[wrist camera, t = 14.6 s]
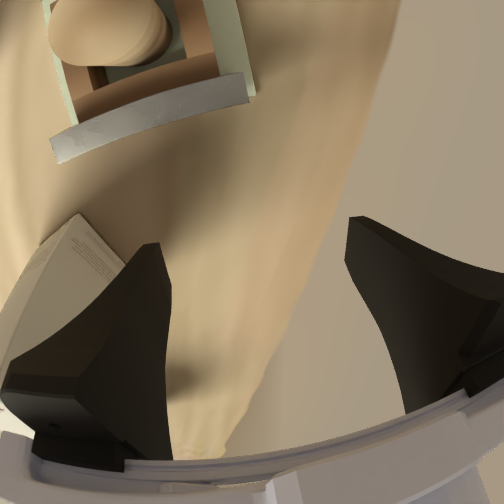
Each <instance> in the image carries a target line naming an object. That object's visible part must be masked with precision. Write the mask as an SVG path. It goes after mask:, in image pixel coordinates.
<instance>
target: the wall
mask: <svg viewBox="0 0 504 504" xmlns="http://www.w3.org/2000/svg"><path fill="white" fill-rule="evenodd" d="M245 103H250V102H249V97H248V92H247V88H246V83H245V78H244V74H243V72H235V73H229V74H225V75H220V76H219V77H215V78H211V79H206V80H202V81H198V82H195V83H191V84H187V85H184V86H180V87H176V88H173V89H170V90H166V91H163V92H160V93H157V94H154V95H151V96H148V97H145V98H142V99H139V100H136V101H133V102H131V103H128V104H125V105H122V106H120V107H117V108H115V109H112V110H110V111H107V112H105V113H102V114H100V115H97V116H95V117H93V118H90V119H88V120H86V121H84V122H81V123H78V124H76V125H74V126H72V127H70V128H68V129H66V130H64V131H63V132H61V133H59V134H57V135H55V136H53V137H52V138H50V139H49V140H50V143H51V146H52V149H53V151H54V154H55V157H56V159H57V162H58V164H61V163H63V162H65V161H68V160H70V159H72V158H74V157H77V156H79V155H81V154H84V153H86V152H88V151H91V150H93V149H96V148H98V147H100V146H103V145H106V144H108V143H111V142H113V141H116V140H119V139H121V138H124V137H127V136H130V135H133V134H135V133H138V132H141V131H144V130H147V129H150V128H153V127H156V126H160V125H163V124H166V123H169V122H173V121H176V120H180V119H183V118H187V117H190V116H194V115H198V114H202V113H206V112H209V111H214V110H218V109H222V108H226V107H231V106H235V105H240V104H245Z"/></svg>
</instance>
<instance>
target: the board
mask: <svg viewBox="0 0 504 504" xmlns="http://www.w3.org/2000/svg"><path fill="white" fill-rule="evenodd" d="M54 1H56V0H42V5H43V11H44V17H45V23H46V28H47V34H48V23H49V19H50V16H51V10H50V4H51V3H53V2H54ZM154 1H155V3H156V4H157V5H158V6H159V8H160V9H161V10H162V11H163V13H164V14H165V15H166V17H167V18H168V19H169V21H170V23H171V26H172V31H173V35H172V40H171V43H170V45H169V47H168V49H167V50H166V52H165V53H164V54H163V55H162V56H161V57H160V58H159V59H157V60H156V61H154V62H152V63H150V64H148V65H145V66H140V67H128V66H104V67H105V71H106V75H107V78H108V82H109V84H112V83H114V82H117V81H119V80H122V79H125V78H127V77H130V76H133V75H135V74H138V73H141V72H144V71H147V70H150V69H153V68H156V67H159V66H162V65H166V64H169V63H172V62H176V61H179V60H183V59H187V55H186V51H185V47H184V43H183V39H182V35H181V30H180V26H179V22H178V18H177V14H176V9H175V5H174V1H173V0H154ZM203 4H204V8H205V12H206V17H207V21H208V25H209V29H210V34H211V38H212V42H213V46H214V51H215V55H216V59H217V64H218V68H219V72H220V75H225V74H229V73H235V72H243V74H244V78H245V83H246V88H247V92H248V97H250V96H255V95H256V90H255V86H254V81H253V76H252V71H251V66H250V62H249V57H248V53H247V48H246V43H245V39H244V34H243V30H242V26H241V21H240V17H239V13H238V8H237V4H236V0H203ZM50 48H51V47H50ZM51 52H52V57H53V61H54V65H55V69H56V73H57V77H58V81H59V84H60V88H61V92H62V95H63V98H64V102H65V105H66V108H67V112H68V115H69V118H70V121H71V124H72V126H74V125H76V124H78V123H79V122H78V119H77V116H76V113H75V110H74V107H73V103H72V100H71V97H70V93H69V90H68V86H67V82H66V79H65V75H64V71H63V67H62V63H61V59H59V58H58V57H57V56H56V55H55V53H54V52H53V51H52V49H51Z"/></svg>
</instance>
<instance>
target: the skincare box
mask: <svg viewBox="0 0 504 504" xmlns="http://www.w3.org/2000/svg"><path fill="white" fill-rule="evenodd" d="M124 266H125V264H124V263H123V261H122V260H121V259H120V258H119V257H118V256H117V255H116V254H115V253H114V252H113V251H112V250H111V248H110V247H109V246H108V245H107V244H106V243H105V242H104V241H103V240H102V238H101V237H100V236H99V235H98V234H97V233H96V232H95V231H94V229H93V228H92V227H91V226H90V225H89V224H88V223H87V221H86V220H85V219H84V218H83V217H82V216H81V214H76V215H75V216H74V217H72V218H71V219H70V220H69V221H67V222H66V223H65V224H64V225H63V226H61V227H60V228H59V229H58V230H57V231H56V232H55V233H54V234H52V235H51V236H50V237H49V238H48V239H47V240H46V241H45V242H44V243H43V244H42V245H41V246H40V247H38V248H37V249H36V251H35V252H34V254H33V256H32V257H31V259H30V260H29V262H28V264H27V265H26V267H25V269H24V270H23V272H22V274H21V276H20V277H19V279H18V281H17V283H16V284H15V286H14V288H13V290H12V291H11V293H10V295H9V297H8V299H7V301H6V303H5V305H4V307H3V309H2V311H1V313H0V389H1V386H2V383H3V380H4V377H5V374H6V372H7V369H8V366H9V363H10V361H11V360H13V359H15V358H16V357H18V356H20V355H22V354H23V353H25V352H27V351H28V350H30V349H32V348H34V347H35V346H37V345H38V344H40V343H41V342H43V341H44V340H46V339H47V338H49V337H50V336H52V335H53V334H54V333H56V332H57V331H59V330H60V329H61V328H62V327H64V326H65V325H66V324H67V323H69V322H70V321H71V320H72V319H73V318H75V317H76V316H77V315H78V314H80V313H81V312H82V311H83V310H84V309H85V308H86V307H87V306H88V305H89V304H90V303H92V302H93V301H94V300H95V299H96V298H97V297H98V296H99V295H100V293H101V292H102V291H103V290H104V289H105V288H106V287H107V286H108V285H109V284H110V282H111V281H112V280H113V279H114V278H115V277H116V276H117V275H118V274H119V272H120V271H121V270H122V269H123V268H124ZM3 430H5V431H9V432H13V433H16V434H20V435H24V436H27V437H29V438H31V439H33V440H34V435H35V431H33V430H32V429H31V428H29V427H28V426H27V425H26V424H24V423H23V422H22V421H21V420H19V419H18V418H17V417H16V416H15V415H13V414H12V413H11V412H10V411H9V410H8V409H7V408H6V407H5V406H4V404H3V403H2V401H1V399H0V432H2V431H3Z"/></svg>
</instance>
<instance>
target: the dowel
mask: <svg viewBox="0 0 504 504" xmlns="http://www.w3.org/2000/svg"><path fill="white" fill-rule="evenodd" d="M172 35H173V31H172V26H171V23H170V21H169V19H168V18H167V17H166V15H165V14H164V13H163V11H162V10H161V9H160V8H159V6H158V5H157V4H156V3H155V1H154V0H58V2H57V3H56V5H55V7H54V9H53V11H52V13H51V16H50V19H49V23H48V40H49V44H50V47H51V49H52V51H53V52H54V53H55V55H56V56H57V57H58V58H59V59H61V60H62V61H64V62H66V63H68V64H71V65H76V66H128V67H140V66H145V65H148V64H150V63H152V62H154V61H156V60H157V59H159V58H160V57H161V56H162V55H163V54H164V53H165V52H166V50H167V49H168V47H169V45H170V43H171V40H172Z"/></svg>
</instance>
